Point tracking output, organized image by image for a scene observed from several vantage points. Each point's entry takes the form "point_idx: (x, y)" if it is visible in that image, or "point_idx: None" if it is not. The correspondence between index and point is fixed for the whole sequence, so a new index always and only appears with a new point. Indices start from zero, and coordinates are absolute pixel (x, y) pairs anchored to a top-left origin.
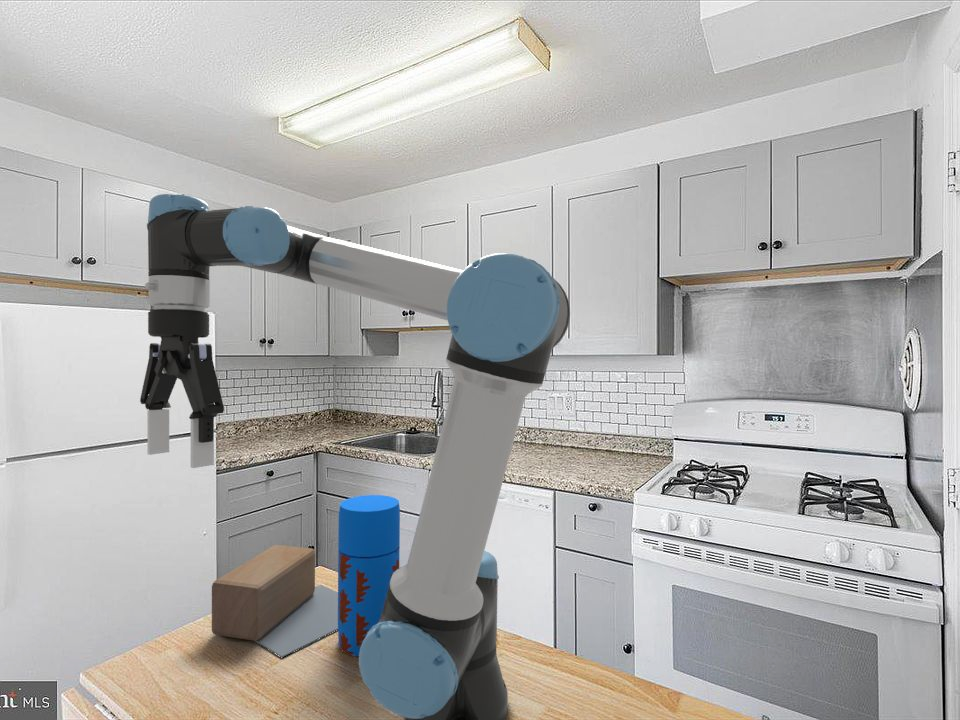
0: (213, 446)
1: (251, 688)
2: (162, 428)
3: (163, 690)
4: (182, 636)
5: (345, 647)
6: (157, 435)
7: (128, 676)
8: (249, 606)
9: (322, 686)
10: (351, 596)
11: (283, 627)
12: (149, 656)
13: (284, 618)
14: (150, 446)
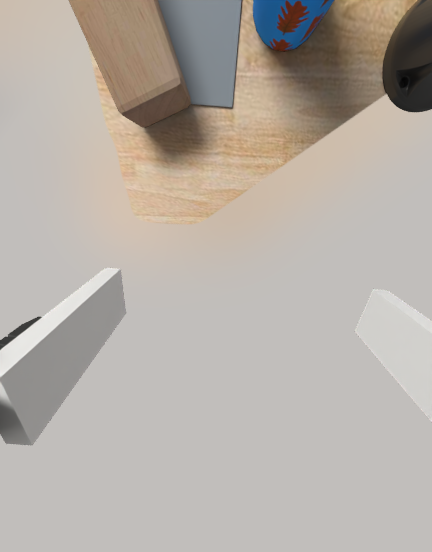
0: (429, 321)
1: (245, 157)
2: (79, 331)
3: (191, 200)
4: (120, 145)
5: (282, 48)
6: (95, 329)
7: (153, 206)
8: (177, 98)
9: (297, 115)
10: (314, 5)
11: (185, 60)
12: (135, 182)
13: None
14: (116, 325)
